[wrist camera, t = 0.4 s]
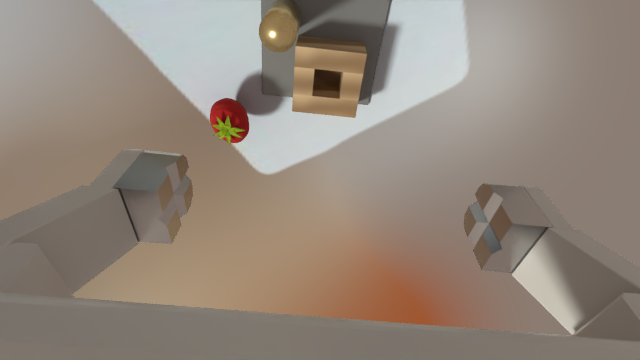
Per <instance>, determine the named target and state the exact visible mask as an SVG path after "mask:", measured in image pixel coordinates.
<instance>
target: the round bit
mask: <svg viewBox="0 0 640 360" xmlns="http://www.w3.org/2000/svg"><path fill="white" fill-rule="evenodd" d="M300 23H301V11H300V8H299V6H298V5H297V4H296V3H295V2H294V1H293V0H276V1H275V2H274V3H273V5H272V6H271V8H270V9H269V11H268V12H267V14H266V15H265V17H264V19H263V20H262V22H261V24H260V27H259V36H260V39H261V41H262V43H263V44H264V46H265V47H266V48H268V49H269V50H271V51H273V52H277V53H282V52H285V51H287V50H289V49H290V48H291V47H292V46H293V45H294V43H295V40H296V36H297V33H298V30H299V26H300Z"/></svg>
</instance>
